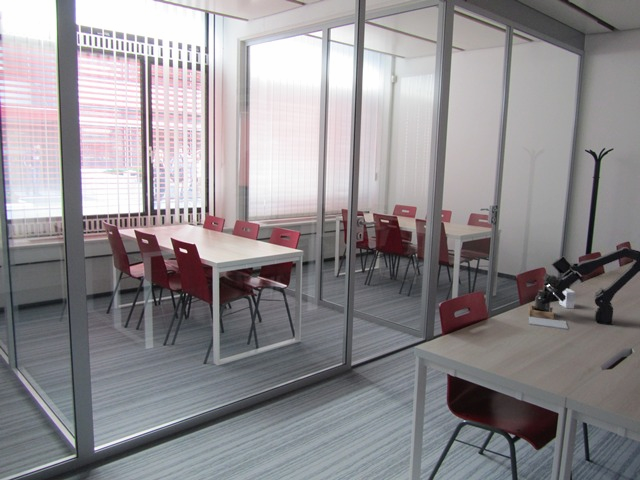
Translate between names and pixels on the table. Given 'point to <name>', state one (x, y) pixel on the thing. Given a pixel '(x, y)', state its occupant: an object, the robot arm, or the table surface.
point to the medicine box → (568, 299)
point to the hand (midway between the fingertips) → (539, 301)
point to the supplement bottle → (539, 298)
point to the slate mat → (548, 322)
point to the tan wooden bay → (540, 313)
